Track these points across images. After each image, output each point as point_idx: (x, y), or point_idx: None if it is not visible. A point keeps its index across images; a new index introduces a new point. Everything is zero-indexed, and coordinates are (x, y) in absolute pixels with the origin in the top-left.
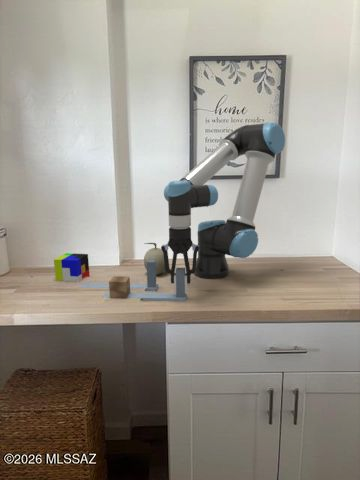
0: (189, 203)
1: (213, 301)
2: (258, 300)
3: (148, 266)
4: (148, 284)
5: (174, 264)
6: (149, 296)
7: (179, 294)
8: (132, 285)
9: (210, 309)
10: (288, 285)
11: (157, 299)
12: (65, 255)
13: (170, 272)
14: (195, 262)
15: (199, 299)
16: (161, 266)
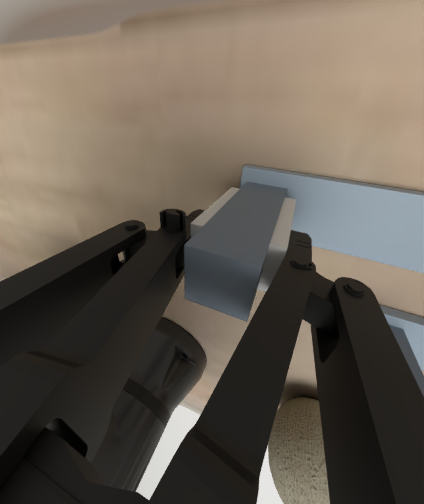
0: None
1: (145, 152)
2: (34, 148)
3: None
4: (401, 339)
5: (263, 321)
6: None
7: (269, 190)
8: None
9: (146, 50)
10: (19, 235)
11: (400, 190)
12: None
13: (314, 282)
14: (46, 263)
15: (193, 179)
16: (299, 422)
